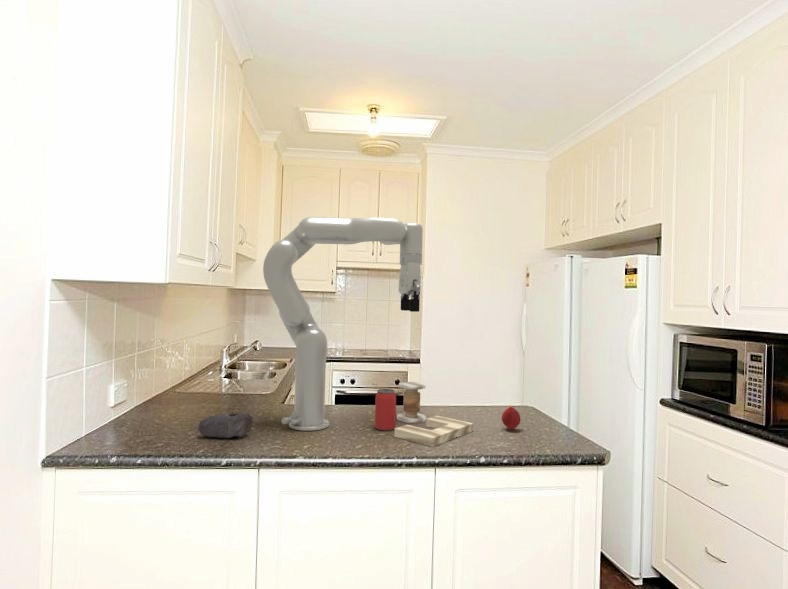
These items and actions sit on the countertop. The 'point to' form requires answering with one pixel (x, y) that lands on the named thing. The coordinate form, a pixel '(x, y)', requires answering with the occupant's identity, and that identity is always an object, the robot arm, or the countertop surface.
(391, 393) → the beer can
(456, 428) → the notched board
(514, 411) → the onion
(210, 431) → the perforated stone tool
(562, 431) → the countertop surface
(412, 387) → the bobbin
